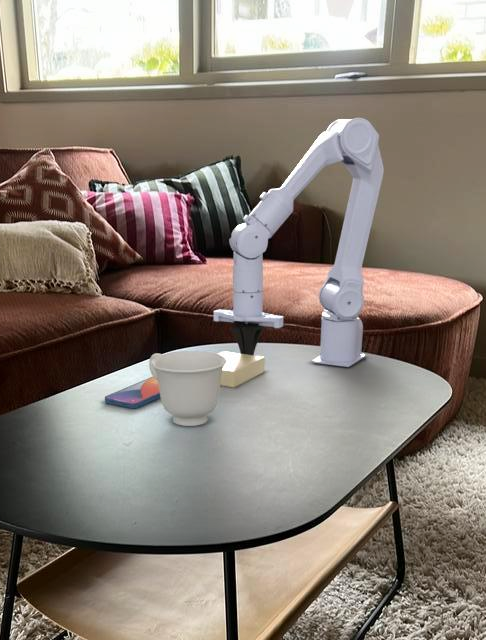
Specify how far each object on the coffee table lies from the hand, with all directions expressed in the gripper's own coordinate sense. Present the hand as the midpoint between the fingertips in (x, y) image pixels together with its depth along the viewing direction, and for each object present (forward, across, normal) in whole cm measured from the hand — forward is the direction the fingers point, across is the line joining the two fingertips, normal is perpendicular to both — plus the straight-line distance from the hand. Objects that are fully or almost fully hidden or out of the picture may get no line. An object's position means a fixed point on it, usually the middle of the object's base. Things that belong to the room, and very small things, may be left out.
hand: (247, 360), depth 152 cm
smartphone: (+1, -7, -25) cm, 26 cm away
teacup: (+2, +6, -32) cm, 33 cm away
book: (+1, 0, -7) cm, 8 cm away
